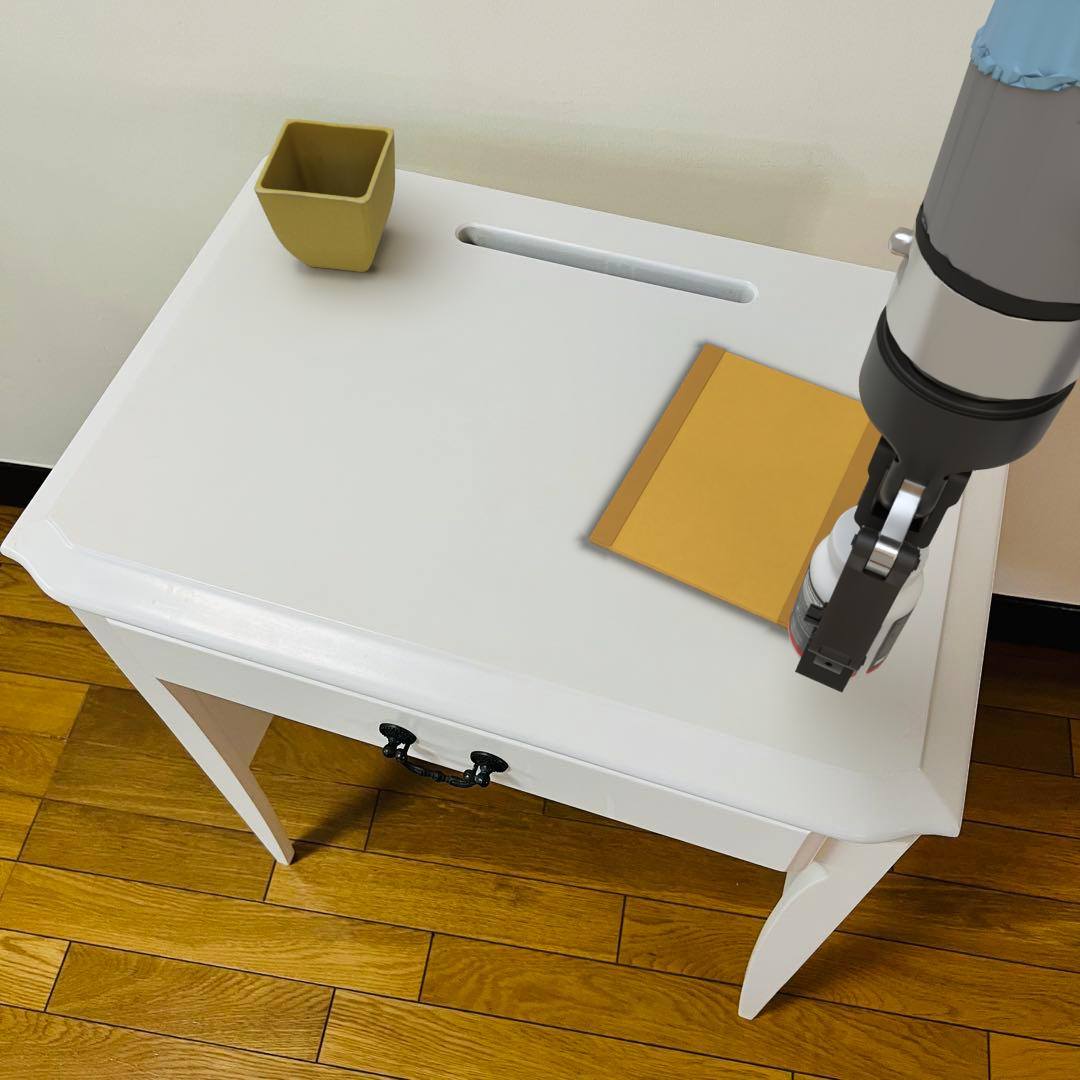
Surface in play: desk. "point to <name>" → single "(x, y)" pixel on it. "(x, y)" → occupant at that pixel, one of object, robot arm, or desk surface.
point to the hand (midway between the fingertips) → (840, 630)
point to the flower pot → (329, 191)
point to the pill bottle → (823, 582)
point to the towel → (741, 483)
